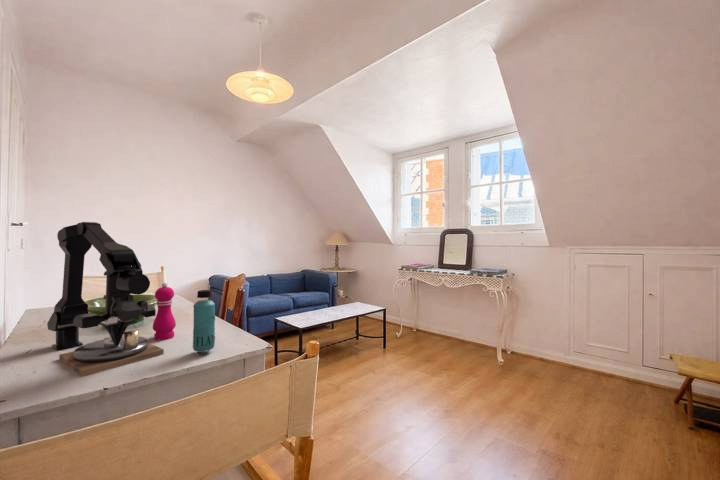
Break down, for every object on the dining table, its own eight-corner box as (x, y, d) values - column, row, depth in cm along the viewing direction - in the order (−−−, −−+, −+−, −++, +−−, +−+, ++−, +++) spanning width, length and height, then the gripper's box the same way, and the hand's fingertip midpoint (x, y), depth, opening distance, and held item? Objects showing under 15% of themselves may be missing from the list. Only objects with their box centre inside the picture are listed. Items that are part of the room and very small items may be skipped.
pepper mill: (164, 341, 113) (165, 284, 113) (147, 339, 114) (147, 283, 114) (180, 335, 120) (180, 281, 120) (163, 333, 122) (164, 281, 121)
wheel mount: (59, 359, 96) (59, 354, 96) (135, 341, 112) (135, 337, 112) (82, 376, 85) (82, 370, 85) (163, 354, 101) (163, 349, 101)
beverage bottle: (192, 357, 98) (192, 292, 98) (192, 350, 104) (192, 289, 104) (215, 354, 101) (216, 291, 101) (214, 347, 107) (215, 288, 107)
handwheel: (57, 358, 92) (57, 334, 92) (118, 339, 109) (119, 319, 109) (105, 365, 87) (105, 340, 87) (161, 344, 105) (161, 323, 105)
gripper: (93, 298, 82) (91, 360, 81) (167, 290, 98) (165, 341, 98) (73, 294, 87) (71, 352, 87) (146, 287, 103) (144, 336, 103)
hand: (116, 345), depth 93 cm, fingers closed
